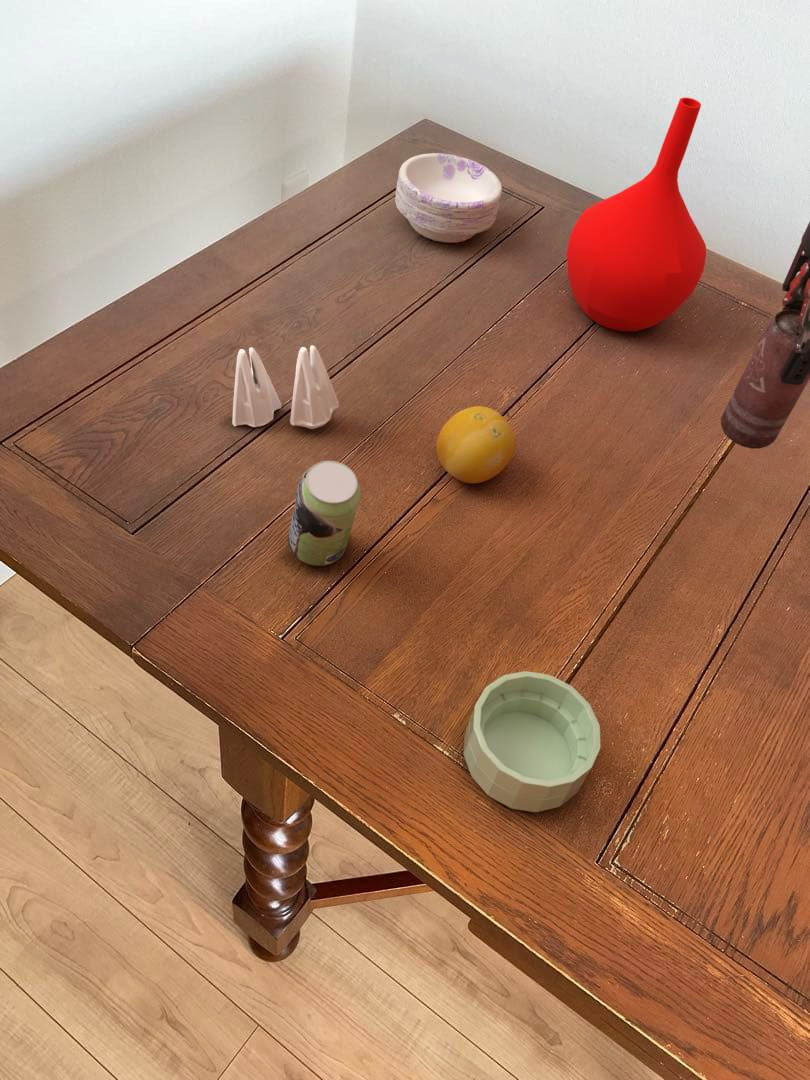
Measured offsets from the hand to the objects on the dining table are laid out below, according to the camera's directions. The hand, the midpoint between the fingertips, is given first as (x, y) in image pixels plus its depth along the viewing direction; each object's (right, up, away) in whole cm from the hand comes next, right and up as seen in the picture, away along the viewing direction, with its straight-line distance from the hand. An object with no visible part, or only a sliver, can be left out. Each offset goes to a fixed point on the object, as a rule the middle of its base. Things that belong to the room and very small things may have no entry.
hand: (784, 360), depth 97 cm
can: (-1, -7, +7) cm, 10 cm away
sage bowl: (-27, -38, -9) cm, 48 cm away
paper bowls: (-33, +29, +48) cm, 65 cm away
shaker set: (-52, -4, +16) cm, 55 cm away
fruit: (-31, -10, +15) cm, 36 cm away
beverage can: (-47, -20, +3) cm, 51 cm away
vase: (-8, +14, +40) cm, 43 cm away
